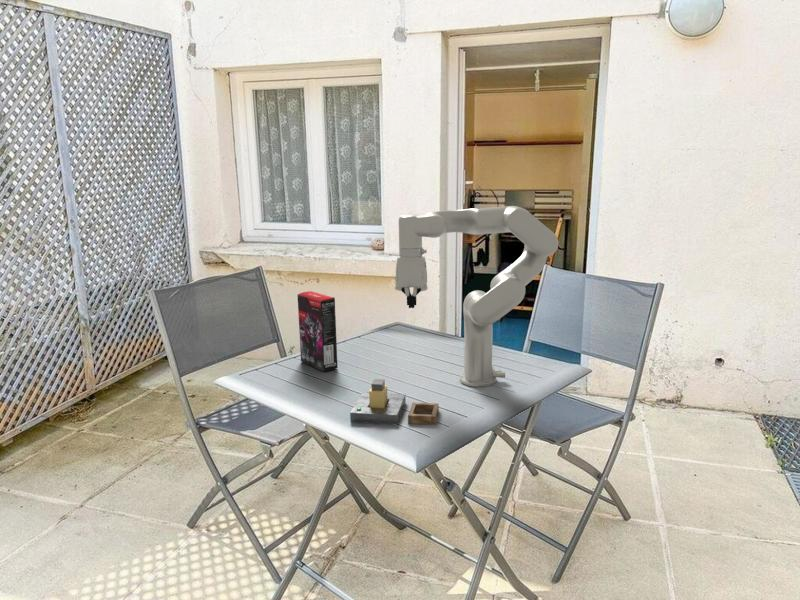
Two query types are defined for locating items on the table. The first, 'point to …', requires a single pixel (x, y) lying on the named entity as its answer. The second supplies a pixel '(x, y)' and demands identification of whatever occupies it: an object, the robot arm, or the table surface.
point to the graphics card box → (317, 330)
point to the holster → (423, 418)
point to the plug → (378, 394)
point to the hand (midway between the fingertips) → (411, 307)
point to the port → (378, 410)
